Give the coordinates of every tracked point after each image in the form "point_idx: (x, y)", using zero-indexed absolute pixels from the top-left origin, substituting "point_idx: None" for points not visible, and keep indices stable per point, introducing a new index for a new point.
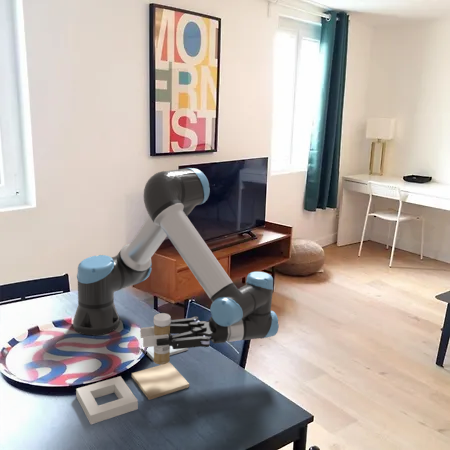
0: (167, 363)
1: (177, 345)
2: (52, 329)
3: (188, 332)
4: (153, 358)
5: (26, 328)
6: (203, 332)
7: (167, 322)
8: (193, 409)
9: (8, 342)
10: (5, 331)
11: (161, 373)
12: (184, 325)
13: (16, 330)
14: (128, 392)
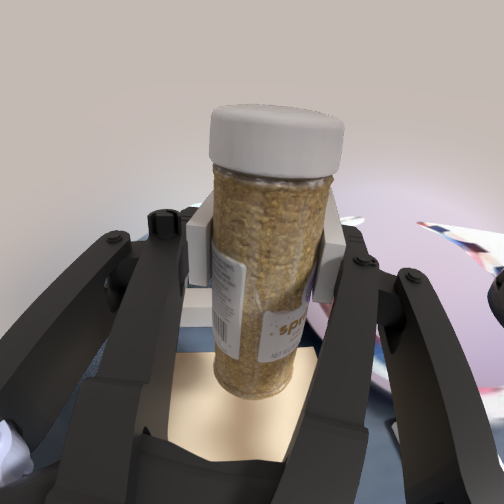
0: None
1: (122, 296)
2: (486, 263)
3: (139, 348)
4: (395, 423)
5: (476, 242)
6: (34, 488)
7: (210, 132)
8: (58, 434)
9: (436, 225)
10: (461, 227)
11: (283, 426)
12: (328, 375)
13: (467, 234)
14: (198, 301)
